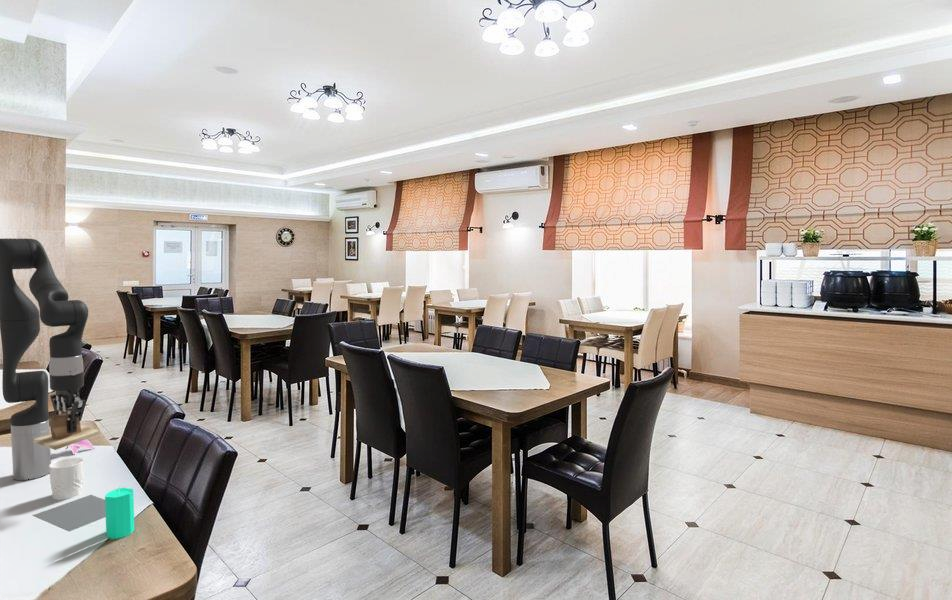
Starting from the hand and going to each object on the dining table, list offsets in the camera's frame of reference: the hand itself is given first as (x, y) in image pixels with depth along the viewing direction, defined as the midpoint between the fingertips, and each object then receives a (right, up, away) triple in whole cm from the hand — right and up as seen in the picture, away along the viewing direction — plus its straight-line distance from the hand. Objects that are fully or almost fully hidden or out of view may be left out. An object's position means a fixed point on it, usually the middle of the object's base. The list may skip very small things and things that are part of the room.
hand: (69, 431), depth 146 cm
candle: (+26, -22, -16) cm, 37 cm away
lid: (0, -2, 0) cm, 2 cm away
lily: (-29, -18, +39) cm, 52 cm away
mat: (+8, -21, -6) cm, 23 cm away
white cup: (-3, -20, +4) cm, 21 cm away
